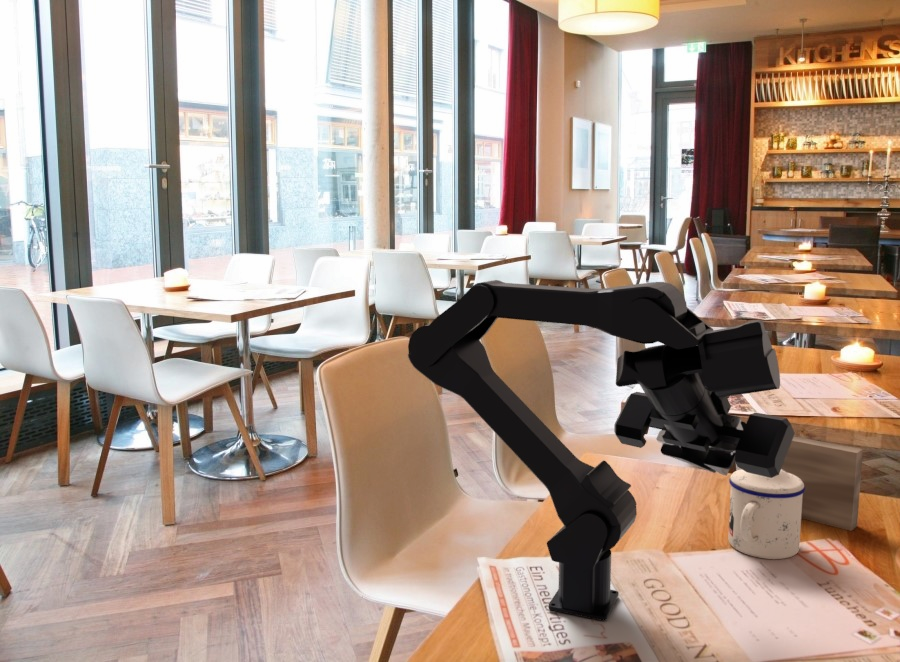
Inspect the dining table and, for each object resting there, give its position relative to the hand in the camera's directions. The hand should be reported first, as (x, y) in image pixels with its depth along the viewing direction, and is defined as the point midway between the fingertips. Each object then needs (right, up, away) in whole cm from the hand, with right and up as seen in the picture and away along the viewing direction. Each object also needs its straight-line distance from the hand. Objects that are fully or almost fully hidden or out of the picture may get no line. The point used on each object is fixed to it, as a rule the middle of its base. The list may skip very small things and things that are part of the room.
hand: (721, 470), depth 92 cm
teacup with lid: (+9, -12, +11) cm, 18 cm away
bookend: (+20, -10, +22) cm, 31 cm away
